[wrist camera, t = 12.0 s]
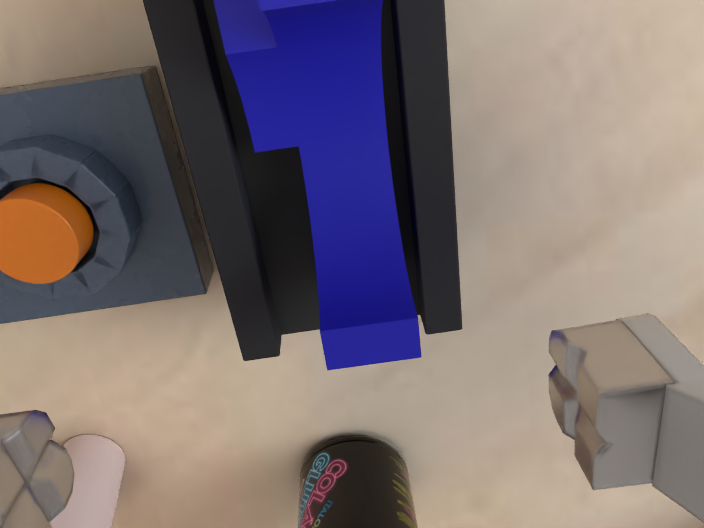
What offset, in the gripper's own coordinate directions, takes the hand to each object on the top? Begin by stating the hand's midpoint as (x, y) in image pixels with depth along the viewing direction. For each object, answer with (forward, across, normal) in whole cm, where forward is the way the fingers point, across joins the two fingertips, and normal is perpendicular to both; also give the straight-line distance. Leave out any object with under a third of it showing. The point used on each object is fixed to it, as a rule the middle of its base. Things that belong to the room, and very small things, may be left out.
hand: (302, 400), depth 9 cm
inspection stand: (+18, 0, 0) cm, 18 cm away
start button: (+15, +11, +1) cm, 18 cm away
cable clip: (+14, 0, -1) cm, 14 cm away
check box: (+18, +11, +1) cm, 21 cm away
